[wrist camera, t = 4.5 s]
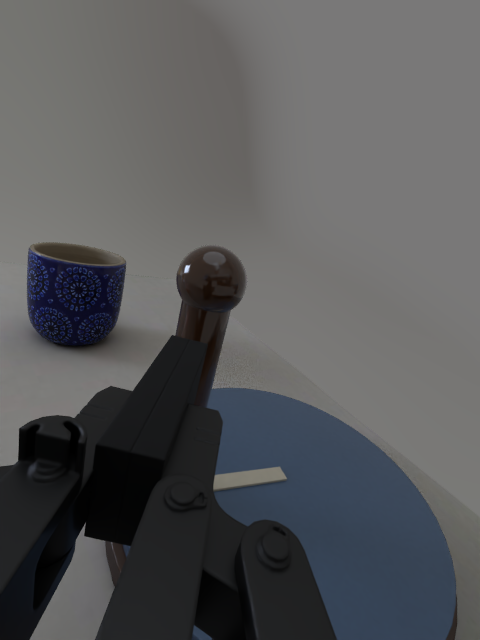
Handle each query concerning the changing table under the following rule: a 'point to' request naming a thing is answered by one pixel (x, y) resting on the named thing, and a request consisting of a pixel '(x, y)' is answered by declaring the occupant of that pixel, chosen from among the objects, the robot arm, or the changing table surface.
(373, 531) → the blue disc with post
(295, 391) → the changing table surface
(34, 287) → the planter
